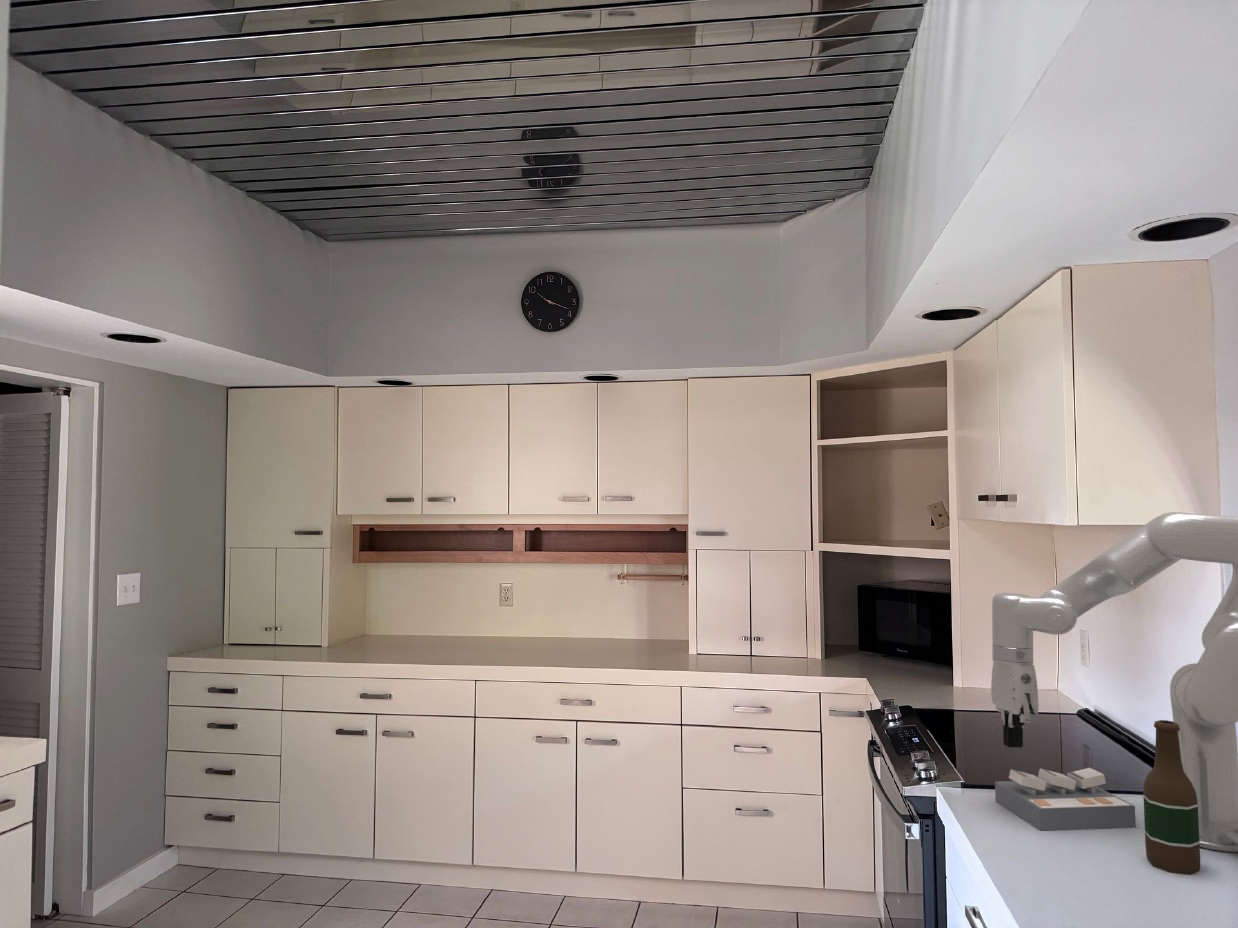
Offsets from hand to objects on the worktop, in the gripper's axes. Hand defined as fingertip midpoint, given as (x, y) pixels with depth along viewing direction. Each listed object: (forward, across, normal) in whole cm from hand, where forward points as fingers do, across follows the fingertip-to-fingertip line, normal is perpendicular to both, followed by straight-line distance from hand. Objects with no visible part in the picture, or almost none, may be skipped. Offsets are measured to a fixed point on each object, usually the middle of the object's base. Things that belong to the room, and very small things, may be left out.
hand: (1013, 745), depth 166 cm
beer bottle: (+12, -26, -13) cm, 32 cm away
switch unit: (+13, -2, -9) cm, 16 cm away
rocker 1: (+7, 0, -3) cm, 7 cm away
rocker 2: (+6, 0, -15) cm, 16 cm away
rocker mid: (+6, 0, -9) cm, 11 cm away
